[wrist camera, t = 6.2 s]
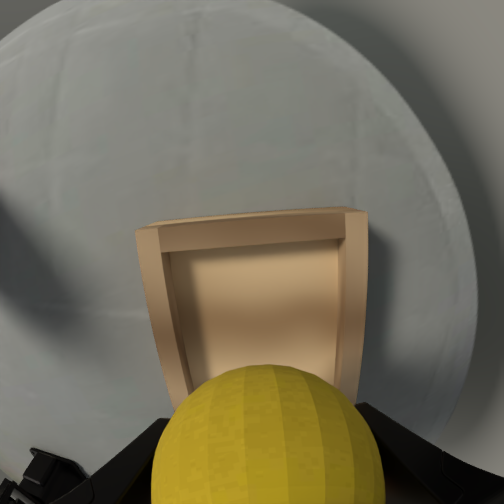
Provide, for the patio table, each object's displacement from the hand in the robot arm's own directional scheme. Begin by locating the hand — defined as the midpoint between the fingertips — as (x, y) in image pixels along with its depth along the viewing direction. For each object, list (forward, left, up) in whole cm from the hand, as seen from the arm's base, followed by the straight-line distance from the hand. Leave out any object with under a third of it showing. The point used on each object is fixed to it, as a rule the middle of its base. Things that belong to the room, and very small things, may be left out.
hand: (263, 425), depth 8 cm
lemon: (0, 0, -2) cm, 2 cm away
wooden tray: (0, 0, -8) cm, 8 cm away
